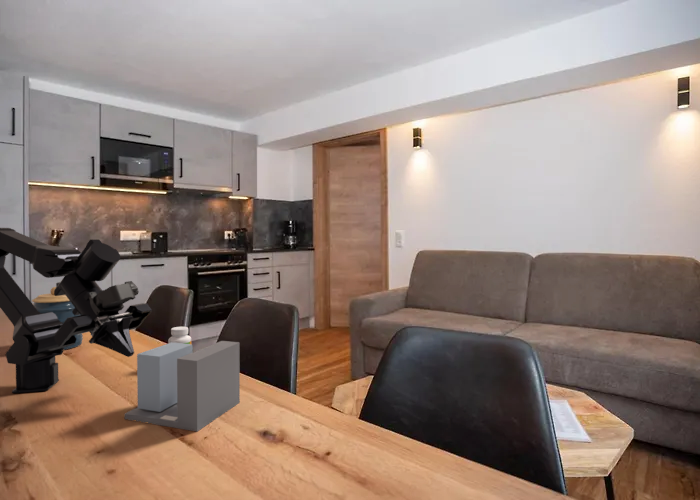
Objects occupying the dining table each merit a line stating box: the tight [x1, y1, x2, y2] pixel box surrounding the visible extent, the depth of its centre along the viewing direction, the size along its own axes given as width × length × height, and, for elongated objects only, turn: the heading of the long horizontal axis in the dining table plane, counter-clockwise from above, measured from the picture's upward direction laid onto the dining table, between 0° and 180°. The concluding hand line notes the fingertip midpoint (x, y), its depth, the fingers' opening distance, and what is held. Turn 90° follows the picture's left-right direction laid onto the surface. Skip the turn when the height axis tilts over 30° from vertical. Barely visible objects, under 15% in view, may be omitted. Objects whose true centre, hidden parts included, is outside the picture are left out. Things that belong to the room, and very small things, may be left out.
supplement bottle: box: [167, 326, 192, 344], centre depth 106 cm, size 5×5×10 cm
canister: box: [31, 286, 84, 351], centre depth 124 cm, size 13×13×18 cm
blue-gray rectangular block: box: [136, 342, 194, 412], centre depth 81 cm, size 5×9×10 cm, turn 163°
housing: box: [124, 340, 241, 432], centre depth 80 cm, size 15×13×12 cm
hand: (131, 355), depth 83 cm, fingers closed
